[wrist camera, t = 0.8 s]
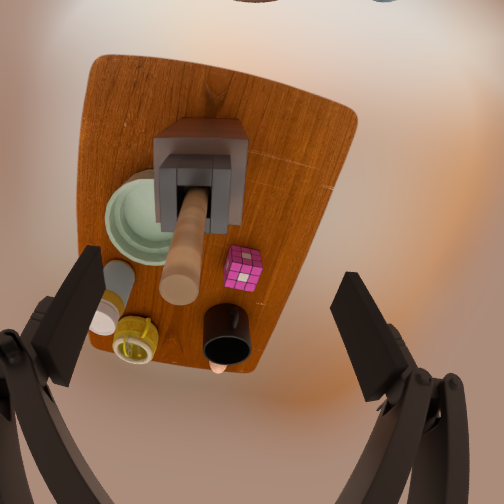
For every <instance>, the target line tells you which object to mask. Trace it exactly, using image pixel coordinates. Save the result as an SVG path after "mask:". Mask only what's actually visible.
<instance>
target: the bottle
mask: <svg viewBox="0 0 504 504" xmlns="http://www.w3.org/2000/svg"><path fill="white" fill-rule="evenodd" d="M103 272H104V278H105V285H106V290H105V292H104V294H103V296H102V299H101V301H100V303H99V306H98V308H97V310H96V313H95V315H94V318H93V320H92V322H91V325H90V327H89V329H90V330H92V331H93V332H95V333H97V334H100V335H110V334H112V333H113V332H114V331H115V329H116V326H117V323H118V320H119V318H120V317H121V316H122V314H123V312H124V310H125V307H126V304H127V301H128V298H129V295H130V292H131V289H132V287H133V284H134V281H135V272H134V270H133V268H132V267H131V266H130V265H129V264H128V263H126V262H125V261H122V260H111V261H109V262H108V263H107V264H106V266H105V267H104V269H103Z"/></svg>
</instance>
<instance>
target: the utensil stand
mask: <svg viewBox="0 0 504 504" xmlns="http://www.w3.org/2000/svg"><path fill="white" fill-rule="evenodd" d="M248 144H249V139H248V137H247V135H246V133H245V131H244V129H243V127H242V125H241V123H240V121H239V119H227V118H198V117H182V118H181V119H179V120H178V121H176V122H175V123H173V124H172V125H171V126H169V127H168V128H166V129H165V130H163V131H162V132H161V133H159V134H158V135H156V136H155V137H154V138H153V166H154V198H155V216H156V223H161V232H174V230H175V227H176V223H177V220H178V217H179V214H180V211H181V207H182V204H183V201H184V198H185V195H186V192H187V189H188V186H210V190H209V198H208V206H207V214H206V223H205V232H204V233H207V234H209V233H210V234H228V225H241V222H242V210H243V199H244V188H245V177H246V166H247V155H248Z"/></svg>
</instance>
